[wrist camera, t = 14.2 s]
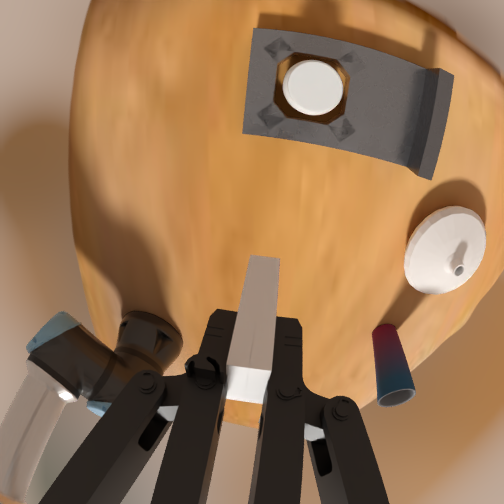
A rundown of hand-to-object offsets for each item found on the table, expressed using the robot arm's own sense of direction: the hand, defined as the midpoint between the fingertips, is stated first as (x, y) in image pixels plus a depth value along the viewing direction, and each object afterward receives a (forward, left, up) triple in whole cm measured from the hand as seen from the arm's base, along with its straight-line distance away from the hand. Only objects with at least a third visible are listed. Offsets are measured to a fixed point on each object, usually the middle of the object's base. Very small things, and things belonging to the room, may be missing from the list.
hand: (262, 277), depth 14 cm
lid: (+27, -7, -23) cm, 36 cm away
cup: (+25, -28, -23) cm, 44 cm away
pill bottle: (+2, +10, -23) cm, 25 cm away
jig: (+6, +10, -22) cm, 25 cm away
